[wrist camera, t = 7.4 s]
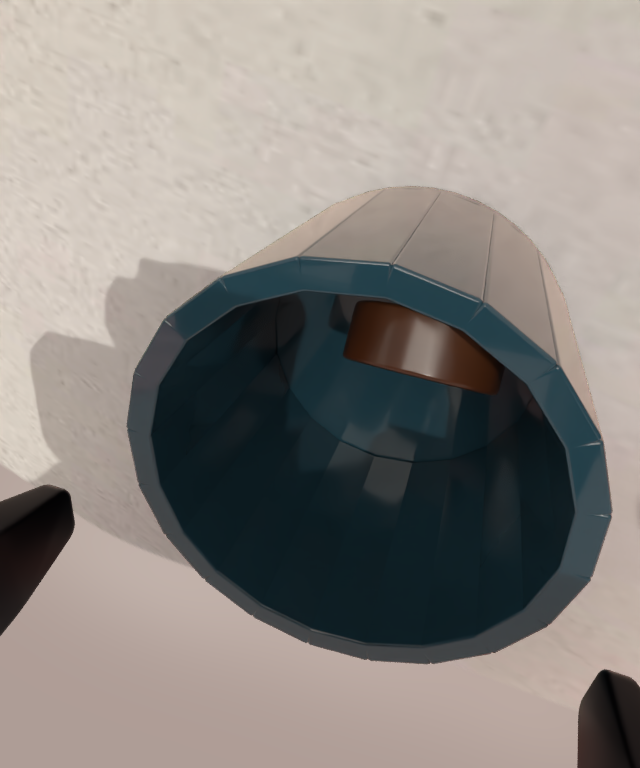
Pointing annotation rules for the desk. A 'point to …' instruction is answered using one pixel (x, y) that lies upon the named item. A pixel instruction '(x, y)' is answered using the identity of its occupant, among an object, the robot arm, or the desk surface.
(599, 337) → the desk surface
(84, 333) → the desk surface
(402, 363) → the brown disc handle
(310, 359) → the crock
